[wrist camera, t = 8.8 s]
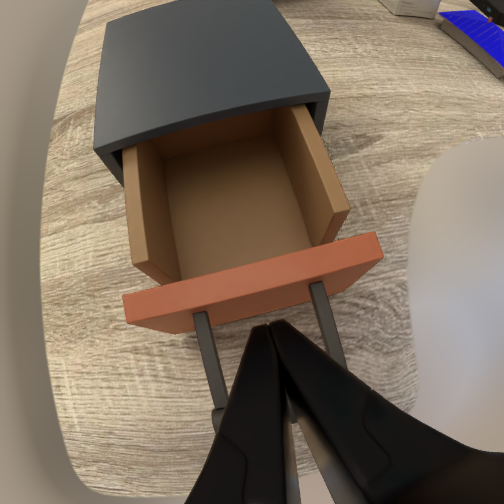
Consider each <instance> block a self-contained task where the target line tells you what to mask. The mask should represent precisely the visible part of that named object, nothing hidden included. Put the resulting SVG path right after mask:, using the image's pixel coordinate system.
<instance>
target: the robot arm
mask: <svg viewBox="0 0 504 504" xmlns="http://www.w3.org/2000/svg"><path fill="white" fill-rule="evenodd" d="M287 397H288V399H287ZM288 400H289V403H290V405H291V408H292V410H293V412H294V415H295V417H296V419H297V421H298V424H299V426H300V428H301V430H302V433H303V435H304V437H305V439H306V442H307V444H308V446H309V448H310V450H311V453H312V455H313V457H314V459H315V462H316V464H317V466H318V468H319V470H320V473H321V475H322V477H323V479H324V481H325V483H326V486H327V488H328V490H329V492H330V494H331V496H332V498H333V500H334V503H335V504H504V453H502V452H486V451H481V450H477V449H474V448H471V447H468V446H466V445H464V444H462V443H460V442H458V441H456V440H454V439H452V438H450V437H448V436H446V435H445V434H443V433H441V432H439V431H437V430H435V429H433V428H432V427H430V426H428V425H426V424H424V423H422V422H420V421H419V420H417V419H415V418H414V417H412V416H410V415H409V414H407V413H405V412H404V411H402V410H400V409H399V408H398V407H396V406H395V405H393V404H392V403H390V402H389V401H388V400H386V399H385V398H384V397H382V396H381V395H380V394H378V393H377V392H376V391H375V390H371V388H370V387H369V386H368V385H366V384H365V383H364V382H363V381H361V380H360V379H359V378H357V377H356V376H355V375H354V374H352V373H351V372H350V371H349V370H347V369H346V368H345V367H343V366H342V365H341V364H340V363H338V362H337V361H336V360H335V359H333V358H332V357H331V356H330V355H328V354H327V353H326V352H324V351H323V350H322V349H321V348H319V347H318V346H317V345H316V344H314V343H313V342H312V341H311V340H309V339H308V338H307V337H306V336H304V335H303V334H302V333H301V332H300V331H298V330H297V329H296V328H295V327H293V326H292V325H291V324H290V323H288V322H287V321H286V320H284V319H280V320H277V321H273V322H270V323H269V326H268V324H261V325H257V326H254V327H252V329H251V331H250V334H249V337H248V340H247V344H246V347H245V350H244V353H243V356H242V359H241V362H240V365H239V368H238V371H237V374H236V377H235V380H234V383H233V386H232V389H231V392H230V395H229V398H228V401H227V404H226V407H225V409H224V412H223V415H222V418H221V421H220V424H219V427H218V432H217V433H216V435H215V438H214V441H213V444H212V447H211V449H210V452H209V454H208V457H207V459H206V462H205V464H204V467H203V469H202V471H201V473H200V475H199V477H198V479H197V481H196V483H195V485H194V487H193V489H192V490H191V492H190V494H189V496H188V498H187V500H186V502H185V503H184V504H301V498H300V490H299V481H298V473H297V465H296V457H295V449H294V441H293V433H292V425H291V417H290V410H289V404H288Z"/></svg>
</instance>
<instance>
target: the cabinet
mask: <svg viewBox="0 0 504 504" xmlns="http://www.w3.org/2000/svg"><path fill="white" fill-rule="evenodd" d="M330 92H331V90H330V89H329V87H328V85H327V84H326V82H325V80H324V79H323V77H322V75H321V74H320V72H319V70H318V69H317V67H316V65H315V64H314V62H313V61H312V59H311V58H310V56H309V54H308V53H307V51H306V50H305V48H304V47H303V45H302V44H301V42H300V41H299V39H298V38H297V36H296V35H295V33H294V32H293V30H292V29H291V27H290V26H289V25H288V23H287V22H286V20H285V19H284V18H283V16H282V15H281V13H280V12H279V11H278V9H277V8H276V7H275V5H274V4H273V3H272V1H271V0H177V1H173V2H169V3H165V4H162V5H158V6H155V7H151V8H148V9H145V10H142V11H139V12H135V13H132V14H130V15H127V16H124V17H121V18H118V19H115V20H113V21H110V22H107V25H106V30H105V36H104V42H103V48H102V55H101V62H100V70H99V78H98V87H97V97H96V109H95V124H94V145H93V150H94V151H95V152H96V154H97V155H98V156H99V157H100V159H101V160H102V161H103V163H104V164H105V165H106V166H107V168H108V169H109V170H110V171H111V173H112V174H113V175H114V177H115V178H116V179H117V180H118V182H119V183H120V184H121V185H122V187H123V188H124V174H123V154H122V148H125V147H128V146H131V145H134V144H137V143H140V142H143V141H146V140H149V139H152V138H156V137H159V136H162V135H166V134H169V133H172V132H176V131H179V130H183V129H187V128H190V127H194V126H198V125H202V124H206V123H210V122H214V121H218V120H222V119H226V118H230V117H235V116H239V115H244V114H249V113H253V112H258V111H263V110H269V109H274V108H279V107H285V106H291V105H297V104H303V103H304V104H305V106H306V108H307V110H308V112H309V114H310V116H311V118H312V120H313V122H314V124H315V126H316V129H317V131H318V133H319V135H320V137H321V134H322V129H323V125H324V120H325V116H326V111H327V106H328V101H329V97H330Z"/></svg>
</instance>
